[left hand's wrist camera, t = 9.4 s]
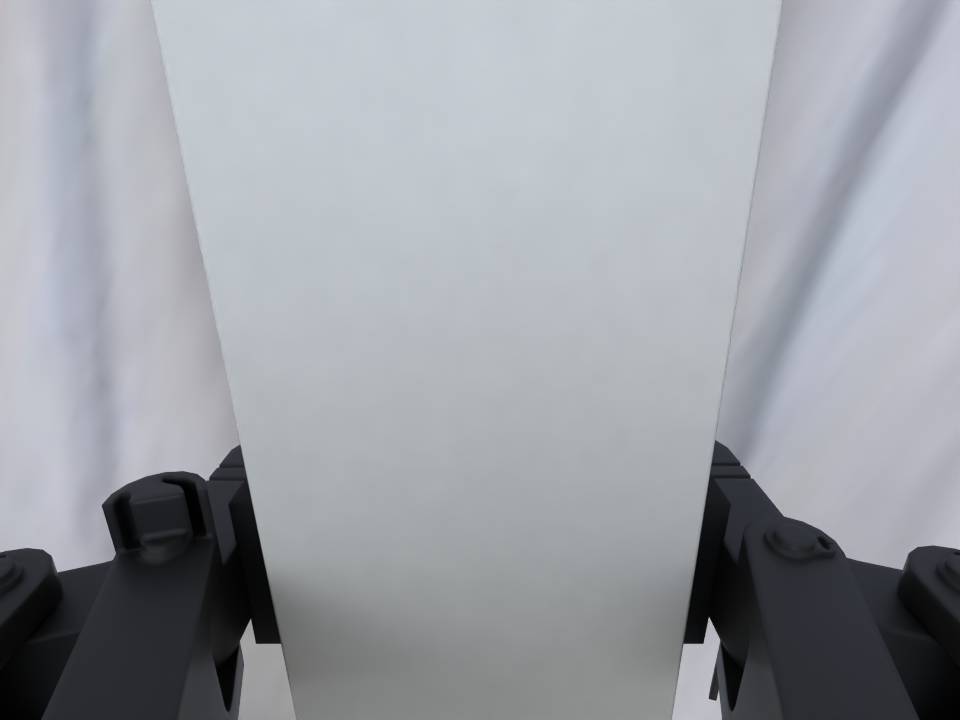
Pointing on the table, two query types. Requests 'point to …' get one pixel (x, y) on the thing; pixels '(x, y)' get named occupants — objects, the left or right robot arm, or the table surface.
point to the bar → (474, 329)
